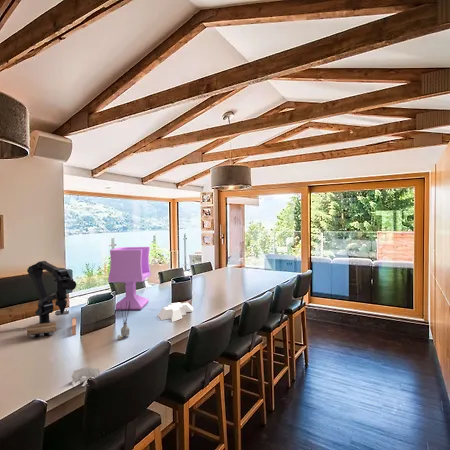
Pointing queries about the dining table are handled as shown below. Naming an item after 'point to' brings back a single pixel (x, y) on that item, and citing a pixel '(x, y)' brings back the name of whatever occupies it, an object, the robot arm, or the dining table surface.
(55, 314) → the roller
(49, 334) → the roller
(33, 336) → the roller
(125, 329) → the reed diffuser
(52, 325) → the slab
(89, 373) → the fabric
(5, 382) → the dining table surface
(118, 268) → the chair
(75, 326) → the bar
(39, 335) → the roller mid
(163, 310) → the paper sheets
